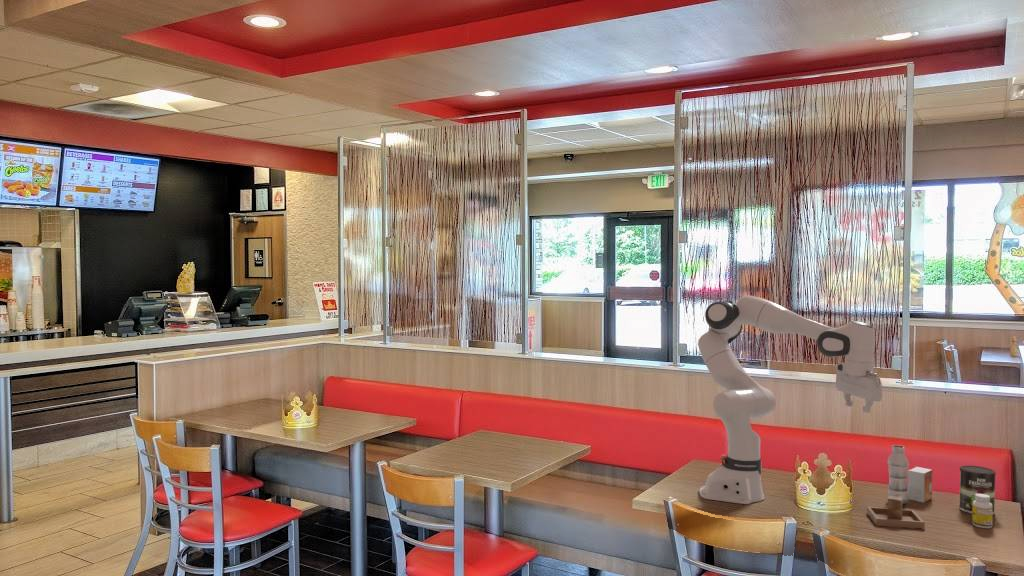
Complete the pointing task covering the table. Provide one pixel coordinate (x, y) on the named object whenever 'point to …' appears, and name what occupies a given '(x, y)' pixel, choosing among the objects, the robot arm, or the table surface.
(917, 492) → the small box
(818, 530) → the table surface
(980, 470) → the coffee can
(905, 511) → the tray
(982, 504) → the supplement bottle
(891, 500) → the block
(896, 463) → the plastic bottle
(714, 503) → the table surface
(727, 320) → the robot arm
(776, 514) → the table surface
